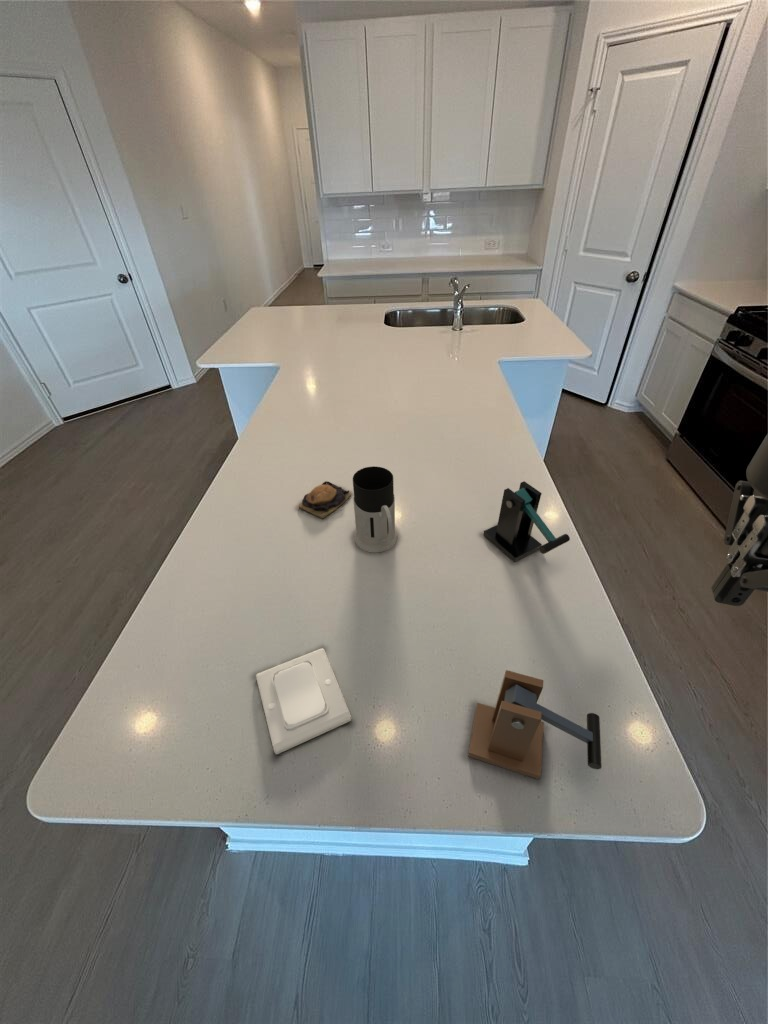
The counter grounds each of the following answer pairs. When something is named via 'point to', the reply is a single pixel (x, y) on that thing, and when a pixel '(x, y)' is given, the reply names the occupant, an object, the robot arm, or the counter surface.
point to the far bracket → (515, 525)
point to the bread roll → (324, 499)
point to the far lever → (541, 525)
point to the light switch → (301, 700)
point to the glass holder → (374, 509)
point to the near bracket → (510, 730)
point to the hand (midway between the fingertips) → (724, 597)
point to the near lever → (562, 723)
